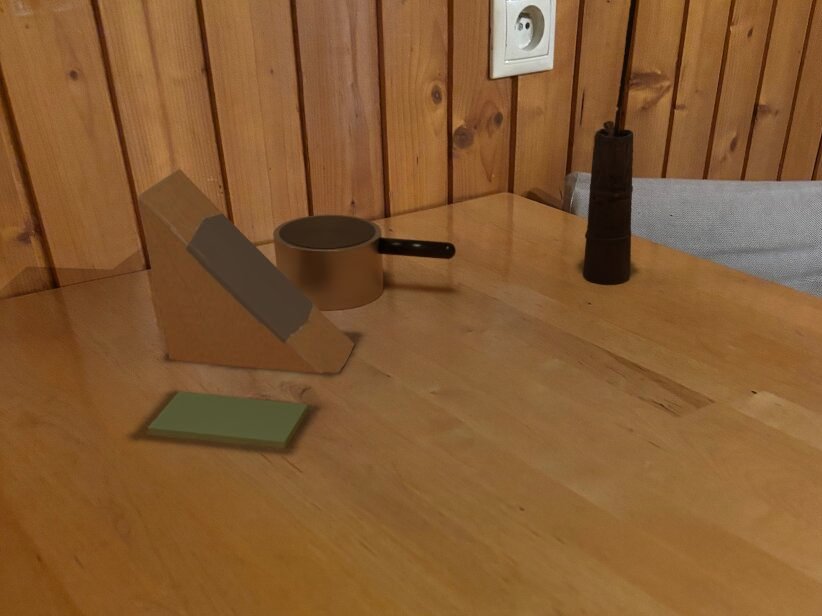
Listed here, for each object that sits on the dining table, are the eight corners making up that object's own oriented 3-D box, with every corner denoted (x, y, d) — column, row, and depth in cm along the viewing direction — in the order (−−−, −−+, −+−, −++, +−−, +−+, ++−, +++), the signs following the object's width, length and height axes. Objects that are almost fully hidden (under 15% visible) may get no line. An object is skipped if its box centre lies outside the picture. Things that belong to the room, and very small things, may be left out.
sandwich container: (333, 384, 83) (320, 208, 73) (168, 369, 85) (135, 195, 75) (357, 343, 89) (348, 177, 80) (204, 330, 91) (177, 166, 82)
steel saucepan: (265, 305, 96) (258, 245, 92) (297, 267, 104) (292, 210, 100) (445, 320, 94) (445, 259, 90) (463, 280, 102) (464, 223, 98)
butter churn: (563, 254, 108) (589, -37, 91) (646, 261, 107) (689, -33, 89) (554, 283, 101) (580, -26, 84) (643, 291, 100) (688, -21, 82)
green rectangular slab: (139, 446, 74) (135, 430, 73) (174, 405, 79) (171, 389, 78) (285, 462, 73) (283, 445, 72) (311, 419, 78) (309, 402, 77)
